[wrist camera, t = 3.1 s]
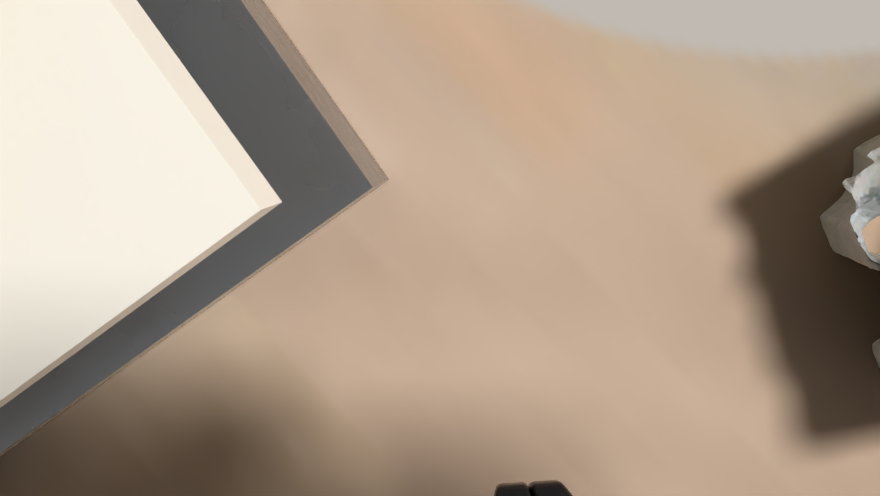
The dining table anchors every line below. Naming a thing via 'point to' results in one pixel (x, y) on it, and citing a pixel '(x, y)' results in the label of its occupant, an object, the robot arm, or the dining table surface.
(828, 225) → the egg carton
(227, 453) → the dining table surface
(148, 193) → the cover
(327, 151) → the grey flat block
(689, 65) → the dining table surface
